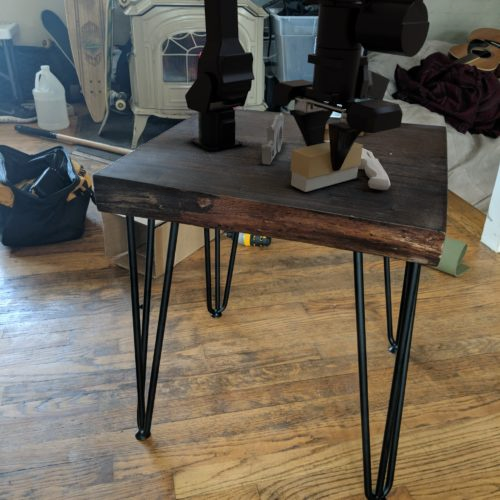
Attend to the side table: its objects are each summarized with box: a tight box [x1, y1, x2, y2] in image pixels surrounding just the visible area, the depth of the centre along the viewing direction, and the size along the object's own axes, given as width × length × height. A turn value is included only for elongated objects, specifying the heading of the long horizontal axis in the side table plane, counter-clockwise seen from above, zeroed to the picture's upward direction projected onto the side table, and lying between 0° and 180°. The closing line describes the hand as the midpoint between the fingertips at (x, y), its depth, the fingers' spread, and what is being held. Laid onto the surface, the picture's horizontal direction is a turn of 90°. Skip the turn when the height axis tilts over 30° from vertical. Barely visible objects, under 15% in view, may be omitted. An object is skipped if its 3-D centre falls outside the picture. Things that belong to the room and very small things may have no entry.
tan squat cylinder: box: [324, 123, 329, 140], centre depth 91 cm, size 3×3×2 cm
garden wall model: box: [260, 112, 286, 166], centre depth 82 cm, size 12×2×6 cm, turn 167°
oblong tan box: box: [290, 141, 364, 193], centre depth 71 cm, size 4×10×5 cm, turn 126°
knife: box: [324, 140, 391, 191], centre depth 83 cm, size 30×2×8 cm
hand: (326, 166), depth 72 cm, fingers closed on oblong tan box, 3 cm apart
